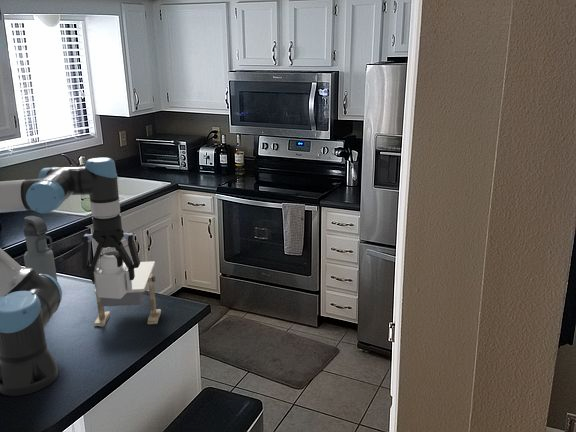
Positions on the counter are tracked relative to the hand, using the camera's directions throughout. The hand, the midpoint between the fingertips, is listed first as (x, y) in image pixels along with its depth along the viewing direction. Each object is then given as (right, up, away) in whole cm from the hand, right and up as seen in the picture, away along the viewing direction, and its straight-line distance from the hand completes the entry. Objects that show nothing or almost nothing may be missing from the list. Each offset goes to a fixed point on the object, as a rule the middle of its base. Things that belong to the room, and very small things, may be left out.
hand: (114, 290), depth 156 cm
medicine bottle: (0, -1, 0) cm, 1 cm away
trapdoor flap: (-3, -3, +24) cm, 24 cm away
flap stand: (-3, -13, +23) cm, 26 cm away
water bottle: (-40, -6, +45) cm, 61 cm away
